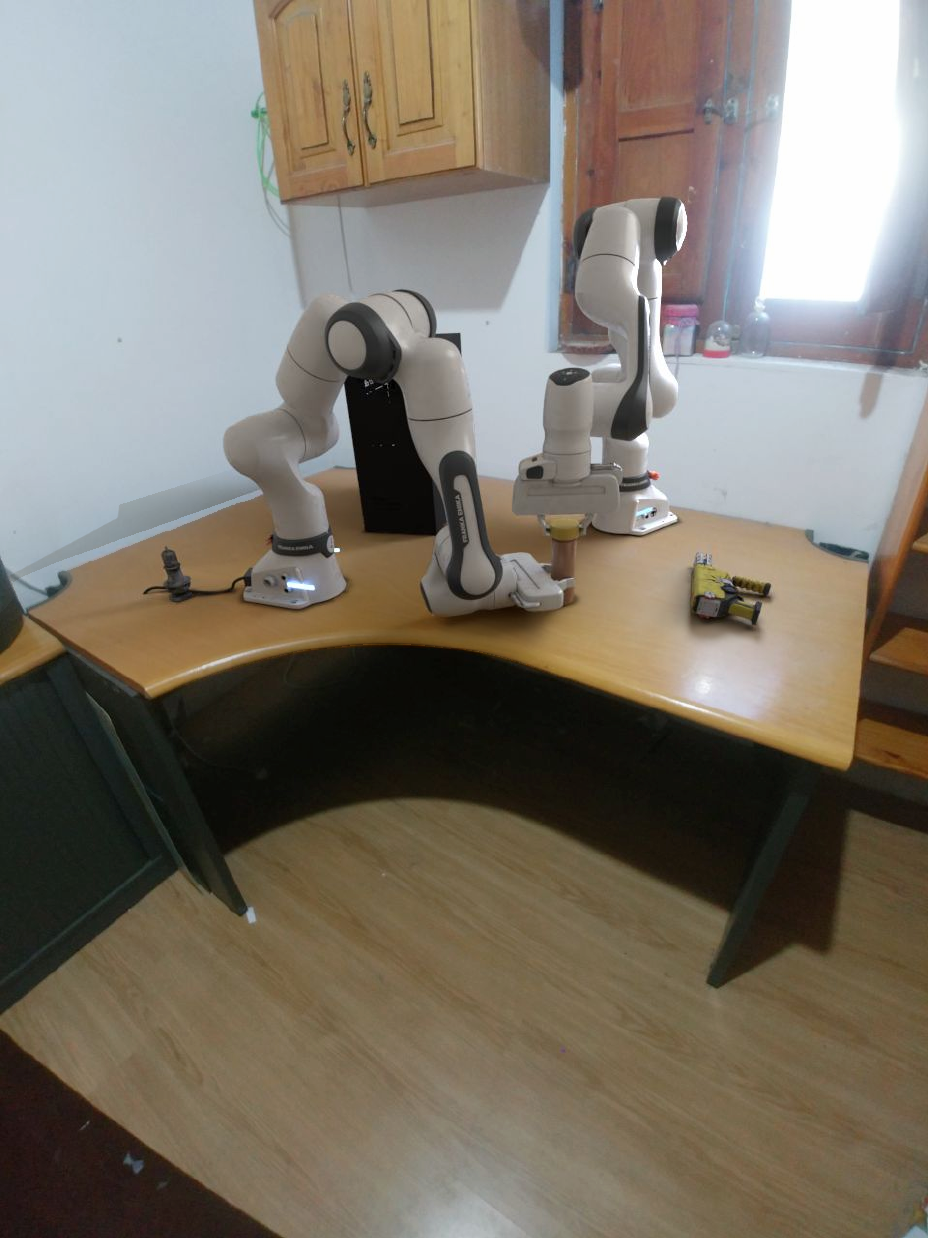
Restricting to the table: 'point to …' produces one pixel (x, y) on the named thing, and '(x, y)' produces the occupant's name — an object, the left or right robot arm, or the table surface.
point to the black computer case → (391, 459)
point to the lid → (564, 529)
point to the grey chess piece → (175, 577)
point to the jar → (564, 564)
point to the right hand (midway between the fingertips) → (563, 534)
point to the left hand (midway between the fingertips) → (566, 574)
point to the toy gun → (722, 592)
